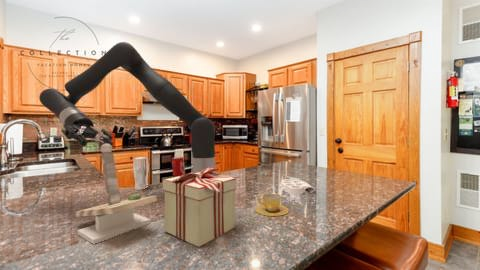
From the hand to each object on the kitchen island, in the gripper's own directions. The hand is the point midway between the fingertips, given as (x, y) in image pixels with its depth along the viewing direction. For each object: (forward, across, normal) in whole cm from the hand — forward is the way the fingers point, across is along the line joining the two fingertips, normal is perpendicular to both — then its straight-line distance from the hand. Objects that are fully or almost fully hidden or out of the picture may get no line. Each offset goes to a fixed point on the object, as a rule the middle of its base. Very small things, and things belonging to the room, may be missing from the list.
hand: (99, 145), depth 76 cm
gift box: (+43, +10, +2) cm, 45 cm away
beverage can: (+8, +44, +16) cm, 47 cm away
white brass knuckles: (+52, +63, -12) cm, 82 cm away
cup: (+52, +33, -7) cm, 62 cm away
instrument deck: (+20, -1, +10) cm, 22 cm away
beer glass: (-6, +35, +25) cm, 44 cm away
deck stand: (+22, 0, +15) cm, 27 cm away
